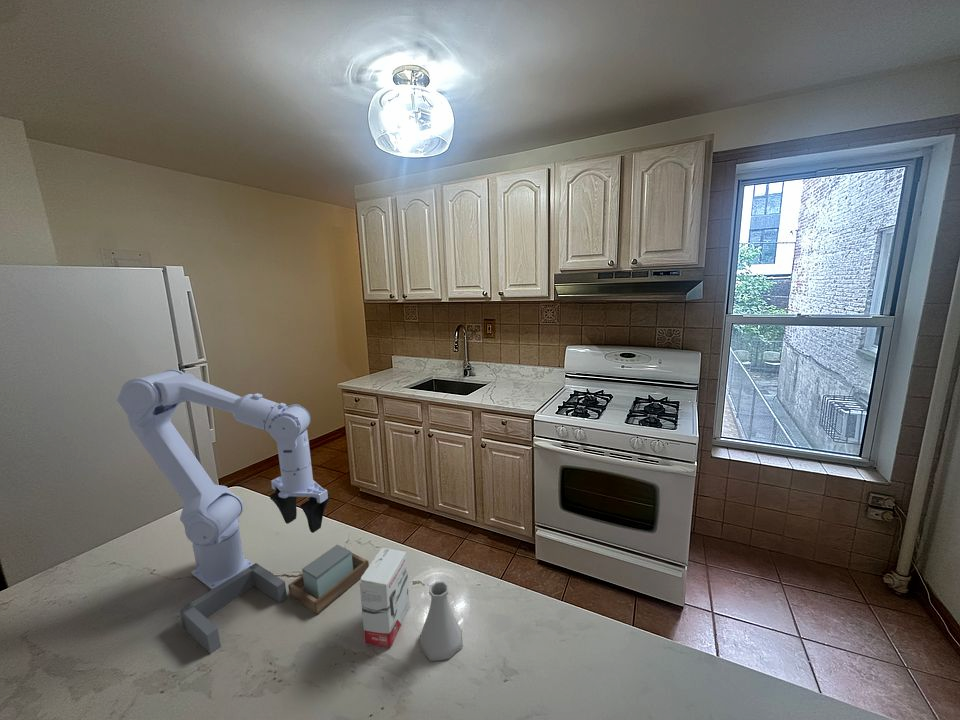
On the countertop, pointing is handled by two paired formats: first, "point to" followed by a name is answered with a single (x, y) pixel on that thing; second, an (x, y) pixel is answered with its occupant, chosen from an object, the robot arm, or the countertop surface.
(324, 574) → the pale grey block
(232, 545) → the robot arm
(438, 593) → the flask
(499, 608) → the countertop surface
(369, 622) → the ink box
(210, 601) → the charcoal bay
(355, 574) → the walnut tray
